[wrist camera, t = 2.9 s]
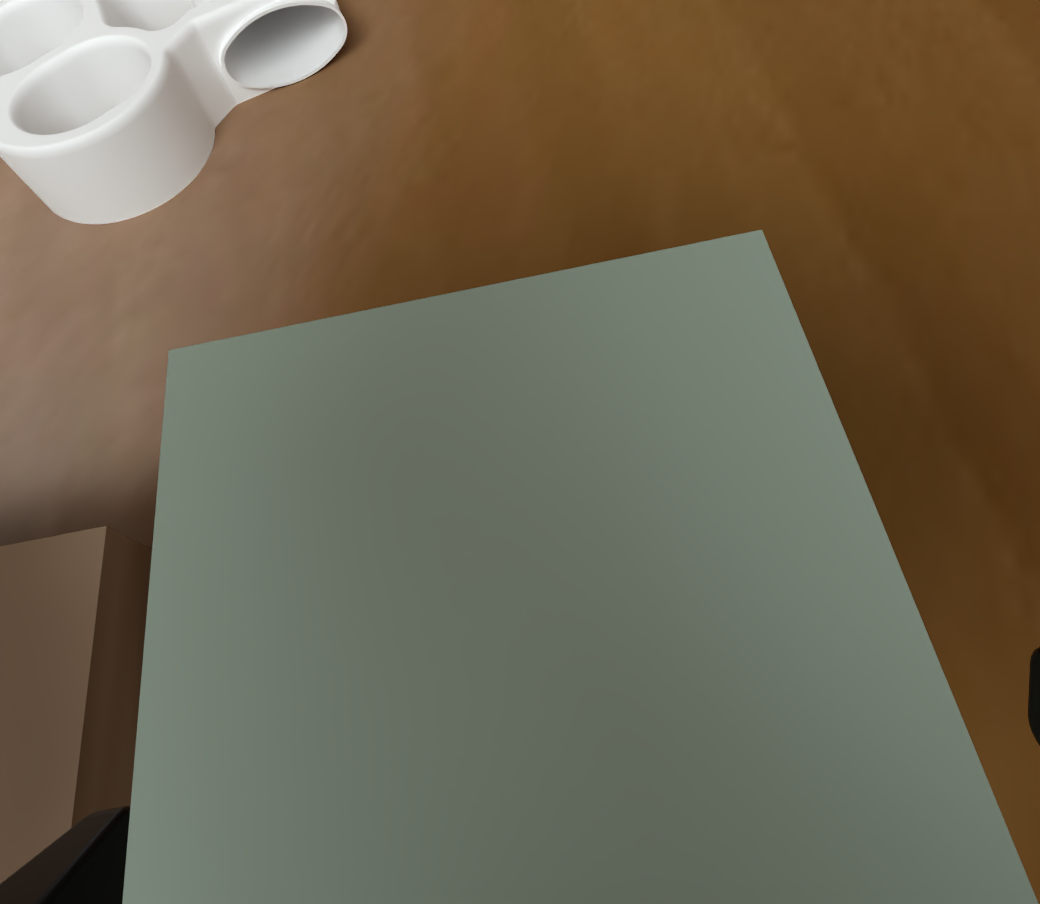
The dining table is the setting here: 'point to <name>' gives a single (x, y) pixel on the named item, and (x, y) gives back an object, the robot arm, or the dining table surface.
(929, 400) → the dining table surface
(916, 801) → the sage green square pillar
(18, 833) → the wooden socket base
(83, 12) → the white brass knuckles
